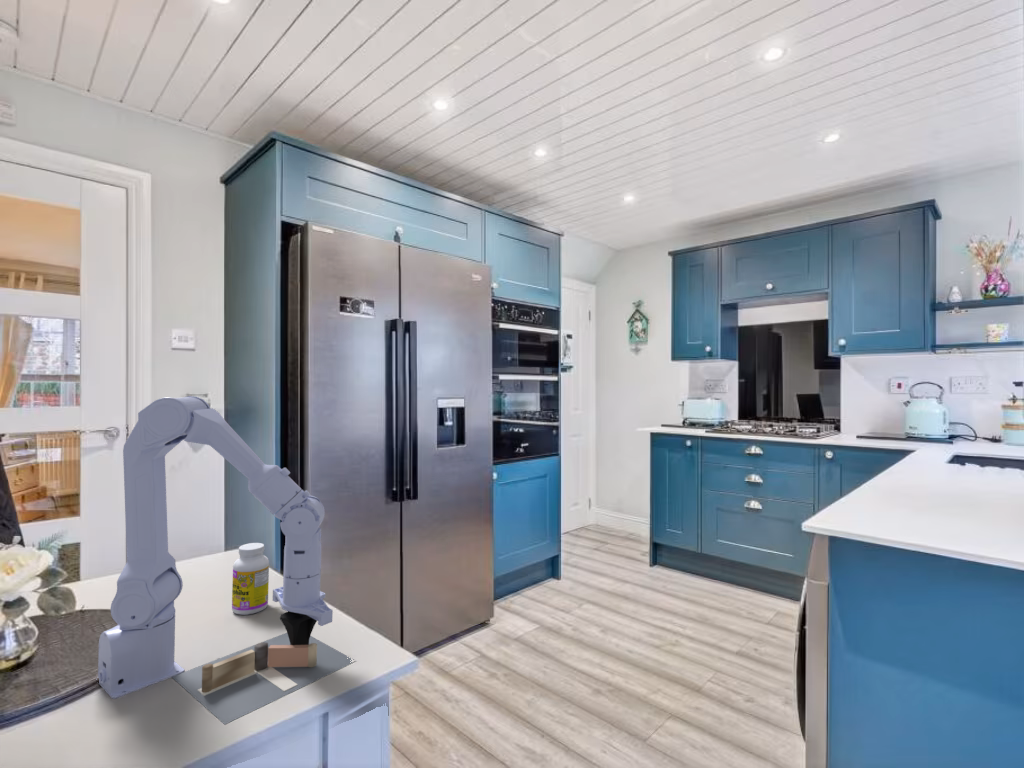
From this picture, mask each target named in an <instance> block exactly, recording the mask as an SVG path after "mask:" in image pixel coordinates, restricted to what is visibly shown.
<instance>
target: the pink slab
mask: <svg viewBox="0 0 1024 768" xmlns="http://www.w3.org/2000/svg"><path fill="white" fill-rule="evenodd" d="M316 665H317V644H316V643H311V644H309V645H270V647H269V648H268V667H314V666H316Z"/></svg>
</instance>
